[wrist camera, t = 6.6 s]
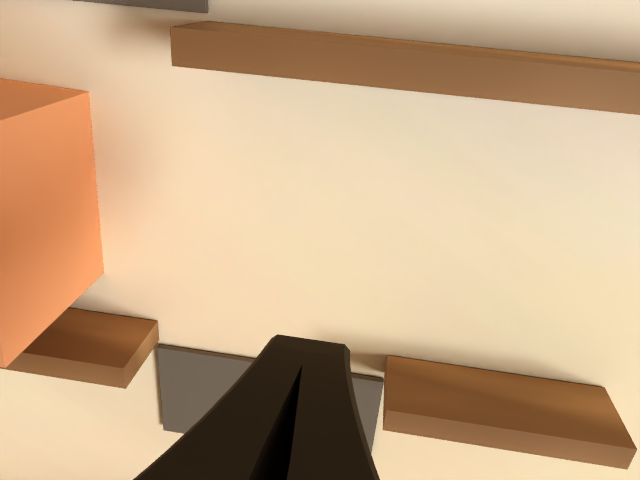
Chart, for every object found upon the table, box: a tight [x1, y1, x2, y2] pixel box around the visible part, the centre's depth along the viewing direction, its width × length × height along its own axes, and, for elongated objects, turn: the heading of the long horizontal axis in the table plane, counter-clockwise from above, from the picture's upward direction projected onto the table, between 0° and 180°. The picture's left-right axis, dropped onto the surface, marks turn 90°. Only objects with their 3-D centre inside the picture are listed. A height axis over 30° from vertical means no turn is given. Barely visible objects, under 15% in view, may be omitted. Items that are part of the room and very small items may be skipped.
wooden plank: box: [0, 21, 640, 469], centre depth 14 cm, size 11×25×2 cm, turn 85°
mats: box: [74, 0, 384, 453], centre depth 16 cm, size 19×14×1 cm
